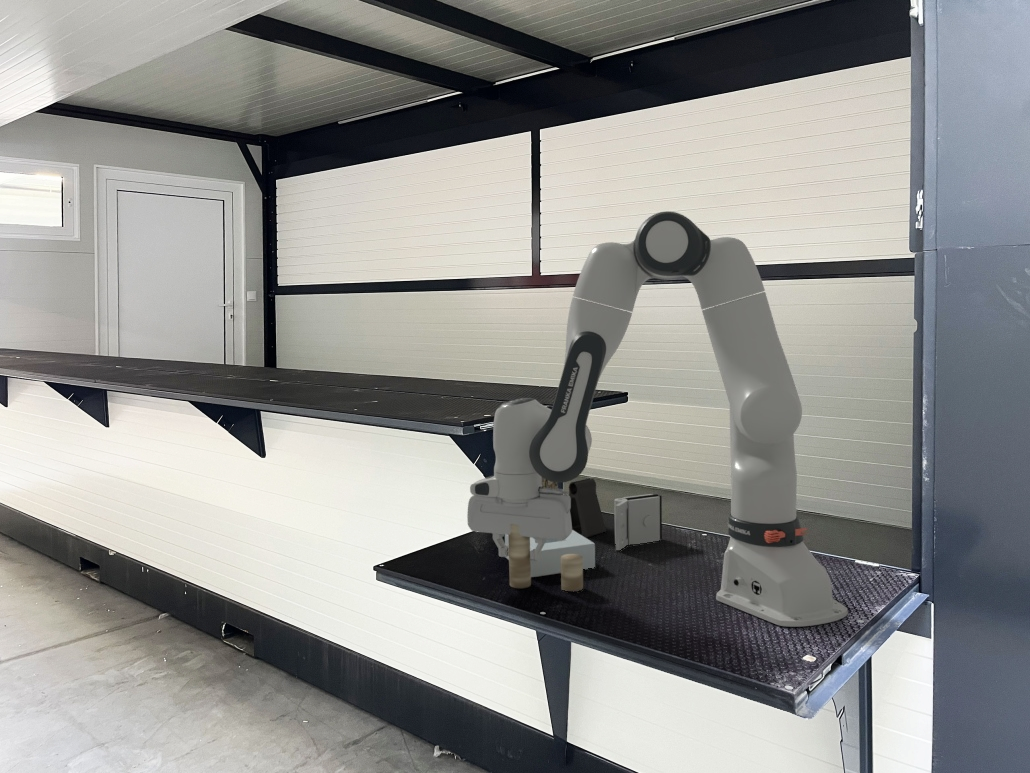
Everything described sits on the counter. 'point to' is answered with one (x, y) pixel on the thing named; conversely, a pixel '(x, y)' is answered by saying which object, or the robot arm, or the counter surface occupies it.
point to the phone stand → (585, 508)
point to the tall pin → (519, 559)
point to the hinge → (638, 519)
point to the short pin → (571, 572)
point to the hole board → (560, 553)
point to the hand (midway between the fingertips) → (519, 557)
